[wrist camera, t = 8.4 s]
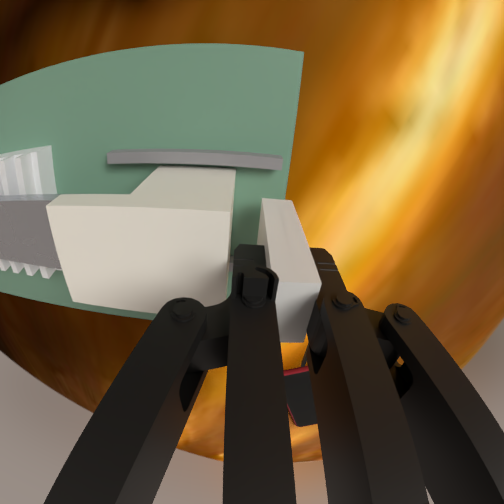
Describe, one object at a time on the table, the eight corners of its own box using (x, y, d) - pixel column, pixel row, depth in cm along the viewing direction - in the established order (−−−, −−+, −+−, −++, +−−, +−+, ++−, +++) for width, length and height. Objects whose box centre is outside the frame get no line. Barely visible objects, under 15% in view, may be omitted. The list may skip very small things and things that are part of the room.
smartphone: (296, 427, 32) (273, 376, 25) (295, 422, 33) (273, 369, 25) (349, 416, 31) (350, 359, 24) (348, 410, 32) (348, 352, 24)
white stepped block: (102, 166, 13) (45, 205, 9) (236, 168, 14) (230, 212, 9) (111, 243, 16) (72, 301, 11) (230, 252, 17) (224, 319, 12)
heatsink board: (-46, 110, 10) (-93, 130, 5) (300, 54, 12) (333, 32, 7) (-8, 282, 19) (-37, 319, 14) (262, 319, 21) (267, 386, 16)
